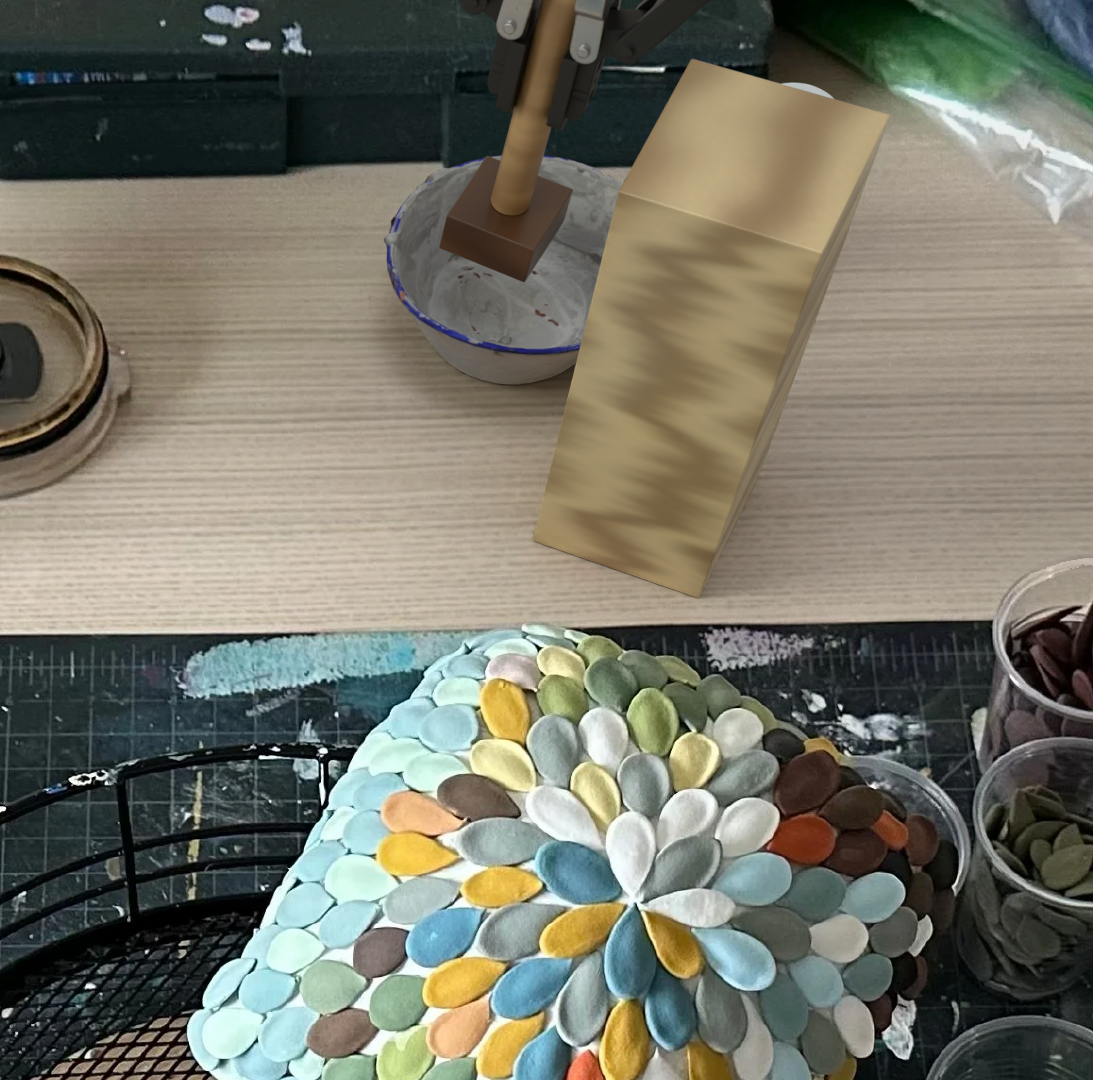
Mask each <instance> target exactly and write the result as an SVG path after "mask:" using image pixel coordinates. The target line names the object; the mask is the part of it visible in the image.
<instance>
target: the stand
mask: <svg viewBox="0 0 1093 1080" xmlns="http://www.w3.org/2000/svg"><path fill="white" fill-rule="evenodd" d="M890 118H891V115H890V114H888V113H884V112H881V111H878V110H875V109H870V108H867V107H863V106H861V105H856V104H853V103H849V102H845V101H843V100H839V99H835V98H834V99H832V98H829V97H825V96H822V95H818V94H815V93H811V92H808V91H804V90H801V89H797V88H793V87H790V86H786V85H783V83H779V82H776V81H772V80H769V79H765V78H761V77H758V76H755V75H752V74H747V73H744V72H740V71H737V70H733V69H730V68H726V67H723V66H719V65H716V64H712V63H709V62H706V61H702V60H698V59H695V58H691V59H690V60H689V63H688V64H687V66H686V68H685V70H684V72H683V73H682V75H681V77H680V79H679V81H678V83H677V84H676V86H675V87H674V90H673V92H672V93H671V95H670V96H669V99H668V101H667V102H666V104H665V106H664V108H663V110H662V112H660V115H659V117H658V119H657V120H656V122H655V124H654V126H653V128H652V130H651V131H650V132H649V135H648V137H647V139H646V141H645V142H644V144H643V146H642V148H641V150H639V151H640V152H639V153H638V155H637V157H636V159H635V161H634V162H633V164H632V166H631V168H630V169H629V171H628V173H627V175H626V177H625V179H624V180H623V182H622V186H621V188H620V190H619V191H618V195H617V199H616V204H615V208H614V212H613V216H612V220H611V224H610V228H609V232H608V236H607V240H606V244H605V248H604V252H603V256H602V260H601V264H600V268H599V273H598V277H597V281H596V285H595V289H594V293H593V297H592V301H591V305H590V309H589V313H588V317H587V321H586V325H585V329H584V333H583V338H582V342H581V346H580V350H579V354H578V358H577V362H576V364H575V367H574V371H573V375H572V379H571V383H570V387H569V390H568V393H567V394H568V395H567V399H566V403H565V407H564V411H563V415H562V419H561V422H560V423H561V424H560V428H559V431H558V432H559V433H558V436H557V439H556V444H555V448H554V452H553V456H552V459H551V464H550V467H549V472H548V476H547V480H546V484H545V488H544V493H543V496H542V499H541V504H540V508H539V513H538V516H537V521H536V524H535V529H534V533H533V538H532V541H533V542H535V543H538V544H541V545H544V546H547V547H550V548H553V549H556V550H557V551H558V550H559V551H561V552H565V553H568V554H570V555H572V556H576V557H579V558H581V559H584V560H587V561H590V562H592V563H593V562H594V563H596V564H599V565H602V566H605V567H607V568H610V569H614V570H616V571H619V572H621V573H625V574H628V575H630V576H633V577H637V578H639V579H642V580H644V581H648V582H650V583H653V584H657V585H658V586H659V585H660V586H661V587H665V588H668V589H671V590H673V591H677V592H679V593H682V594H685V595H688V596H691V597H693V598H697V599H700V598H701V596H702V594H703V592H704V590H705V588H706V585H707V584H708V582H709V579H710V577H711V575H712V573H713V571H714V569H715V567H716V565H717V563H718V561H719V559H720V557H721V554H722V552H723V550H724V548H725V546H726V545H727V542H728V540H729V538H730V537H731V534H732V532H733V531H734V528H735V526H736V523H738V520H739V518H740V516H741V513H742V511H743V509H744V507H745V505H746V503H747V501H748V499H749V497H750V495H751V493H752V491H753V489H754V487H755V485H756V482H757V480H758V479H759V476H760V474H761V471H762V468H763V466H764V463H765V460H766V457H767V454H768V452H769V450H770V447H771V443H772V442H773V438H774V435H775V433H776V430H777V427H778V425H779V422H780V419H781V416H782V414H783V411H784V408H785V406H786V403H787V400H788V397H789V395H790V392H791V389H792V387H793V384H794V381H795V378H796V376H797V373H798V370H799V367H800V364H801V362H802V360H803V356H804V353H805V350H806V348H807V345H808V343H809V340H810V337H811V335H812V331H813V329H814V327H815V323H816V322H817V321H816V320H817V318H818V315H819V312H820V310H821V307H822V304H823V302H824V299H825V296H826V293H827V290H828V287H829V285H830V282H831V280H832V277H833V274H834V271H835V269H836V266H837V263H838V260H839V258H840V255H841V252H842V249H843V247H844V244H845V242H846V239H847V236H848V234H849V230H850V228H851V225H852V223H853V222H852V221H853V219H854V217H855V214H856V211H857V209H858V206H859V203H860V200H861V198H862V195H863V192H864V189H865V187H866V184H867V181H868V178H869V176H870V172H871V170H872V168H873V165H874V162H875V159H876V156H877V154H878V151H879V149H880V146H881V142H882V139H883V137H884V135H885V132H886V130H887V126H888V124H889V121H890Z"/></svg>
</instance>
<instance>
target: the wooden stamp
mask: <svg viewBox="0 0 1093 1080" xmlns="http://www.w3.org/2000/svg"><path fill="white" fill-rule="evenodd" d="M575 2H576V0H542V1H541V6H540V10H539V14H538V18H537V21H536V25H535V29H534V34H533V38H532V42H531V46H530V50H529V54H528V58H527V62H526V66H525V69H524V73H523V77H522V81H521V85H520V89H519V93H518V97H517V101H516V105H515V107H514V109H513V111H512V113H511V119H510V122H509V125H508V130H507V134H506V138H505V142H504V146H503V148H502V149H503V150H502V154H501V155H502V157H501V161H500V160H498V159H495V158H492V157H493V156H490V155H486V156H485V157H484V158H485V159H484V160H483V162H482V163H481V165H480V166H479V168H478V169H477V171H476V172H475V174H474V175H473V177H472V178H471V180H470V181H469V183H468V184H467V186H466V187H465V189H464V190H463V192H462V193H461V195H460V196H459V198H458V199H457V201H456V202H455V204H454V205H453V207H452V208H451V210H450V211H449V213H448V214H447V217H446V221H445V225H444V229H443V233H442V238H441V242H440V246H439V247H440V249H443V250H445V251H448V252H450V253H453V254H455V255H457V256H460V257H462V258H465V259H467V260H470V261H472V262H475V263H477V264H480V265H482V266H484V267H487V268H489V269H492V270H494V271H497V272H499V273H502V274H504V275H507V276H509V277H512V278H514V279H516V280H519V281H521V282H525V281H526V280H527V278H528V277H529V275H530V274H531V272H532V271H533V269H534V267H535V266H536V264H537V263H538V261H539V260H540V258H541V256H542V255H543V253H544V252H545V250H546V249H547V247H548V246H549V244H550V242H551V241H552V239H553V238H554V236H555V235H556V233H557V231H558V230H559V228H560V227H561V225H562V224H563V222H564V219H565V215H566V212H567V208H568V205H569V202H570V198H571V195H572V192H573V189H571V188H568V187H566V186H563V185H561V184H558V183H556V182H553V181H551V180H548V179H546V178H543V177H541V176H538V174H539V170H540V166H541V163H542V159H543V156H544V155H545V152H546V149H547V145H548V141H549V137H550V133H551V130H552V127H549V126H547V125H546V123H547V119H548V115H549V111H550V107H551V104H552V100H553V96H554V92H555V88H556V84H557V81H558V77H559V73H560V69H561V65H562V62H563V58H564V56H565V55H566V53H567V51H568V49H569V48H570V45H571V40H572V35H573V29H574V24H575V18H576V14H575V13H574V8H575Z"/></svg>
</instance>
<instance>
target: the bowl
mask: <svg viewBox="0 0 1093 1080" xmlns="http://www.w3.org/2000/svg"><path fill="white" fill-rule="evenodd" d="M491 157H492V158H495V159H498V160H500V161H501V157H502V154H501V155H494V156H491ZM485 158H486V157H482V158H479V159H474V160H469V161H466V162H464V163H463V162H462V163H461V164H457V165H454V166H451V164H450V166H451V167H444V168H440V169H437V170H436V171H435V172H433V173H431V174H430V175H428V176H427V177H426V179H425V181H424V182H423V183H422V184H419V185H418V186H416V188H415V189H414V190H413V191H412V192H411V193H410V194H409V195H408V196H407V198H406V199H405V200H404V201H403V203H402V204H401V205H400V207H399V208H398V210H397V212H396V214H395V216H393V217H392V219H390V228H389V232H388V233H387V234H386V235H385V236H384V238H383V242H384V244H385V246H386V257H385V259H386V270H387V273H388V277H389V280H390V283H391V286H392V289H393V290H394V292H395V295H396V296H397V297H398V299H399V301H400V302H401V304H402V305H403V306H404V308H405V309H406V310H407V312H408V313H409V314H410V316H411V317H412V319H413V321H414V322H415V324H416V326H418V328H419V330H420V331H421V333H422V334H423V336H424V337H425V338H426V340H427V341H428V342H429V344H430V345H431V346H432V348H433V349H434V350H435V352H437V354H438V355H439V356H440V357H441V358H442V359H443V360H444V361H445V362H447V363H448V364H449V365H451V366H452V367H454V368H455V369H456V370H458V371H460V372H462V373H464V374H465V375H467V376H470V377H471V378H475V379H477V380H481V381H484V382H488V383H492V384H500V385H523V384H530V383H535V382H536V383H537V382H540V381H545V380H548V379H551V378H553V377H556V376H558V375H560V374H562V373H563V372H565V371H567V370H569V369H570V368H571V367H573V366H574V365H576V362H577V358H578V354H579V350H580V346H581V342H582V338H583V333H584V329H585V325H586V321H587V317H588V313H589V309H590V305H591V301H592V297H593V293H594V289H595V285H596V281H597V277H598V273H599V268H600V264H601V260H602V256H603V252H604V248H605V244H606V240H607V236H608V232H609V228H610V224H611V220H612V216H613V212H614V208H615V204H616V199H617V195H618V191H619V190H620V188H621V186H622V184H623V182H621V181H619V180H618V179H617V178H615V177H613V176H611V175H609V174H605V173H604V172H603V171H601V169H598V168H596V167H594V166H591V165H587V164H585V163H582V162H579V161H576V160H572V159H568V158H563V157H558V156H552V155H546V154H544V156H543V159H542V163H541V166H540V170H539V174H538V176H541V177H543V178H546V179H548V180H551V181H553V182H556V183H558V184H561V185H563V186H566V187H568V188H571V189H573V192H572V195H571V198H570V202H569V205H568V208H567V212H566V215H565V219H564V222H563V224H562V225H561V227H560V228H559V230H558V231H557V233H556V235H555V236H554V238H553V239H552V241H551V242H550V244H549V246H548V247H547V249H546V250H545V252H544V253H543V255H542V256H541V258H540V260H539V261H538V263H537V264H536V266H535V267H534V269H533V271H532V272H531V274H530V275H529V277H528V278H527V280H526V281H525V282H521V281H519V280H516V279H514V278H512V277H509V276H507V275H504V274H502V273H499V272H497V271H494V270H492V269H489V268H487V267H484V266H482V265H480V264H477V263H475V262H472V261H470V260H467V259H465V258H462V257H460V256H457V255H455V254H453V253H450V252H448V251H445V250H443V249H440V247H439V246H440V242H441V238H442V233H443V229H444V225H445V221H446V217H447V214H448V213H449V211H450V210H451V208H452V207H453V205H454V204H455V202H456V201H457V199H458V198H459V196H460V195H461V193H462V192H463V190H464V189H465V187H466V186H467V184H468V183H469V181H470V180H471V178H472V177H473V175H474V174H475V172H476V171H477V169H478V168H479V166H480V165H481V163H482V162H483V160H484V159H485Z"/></svg>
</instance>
